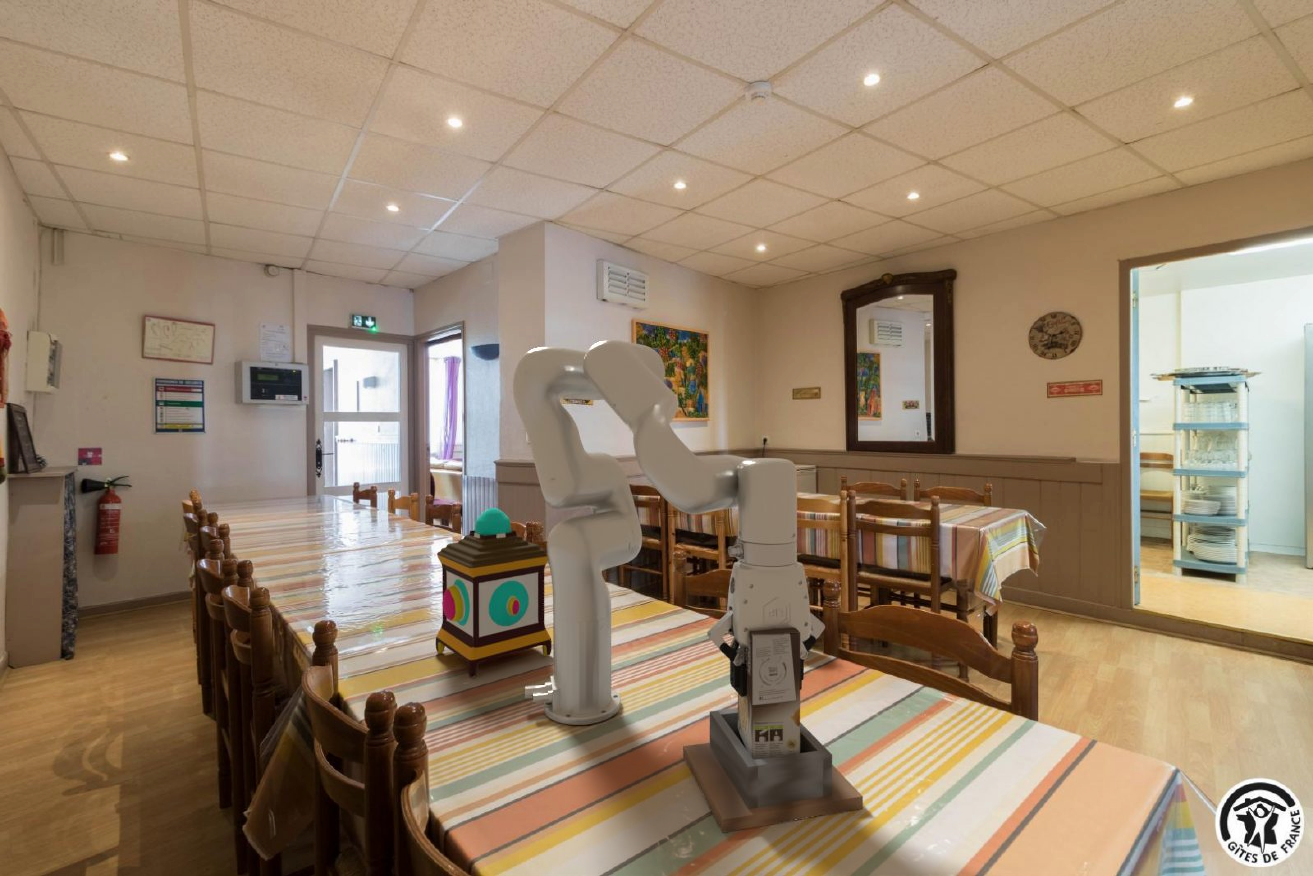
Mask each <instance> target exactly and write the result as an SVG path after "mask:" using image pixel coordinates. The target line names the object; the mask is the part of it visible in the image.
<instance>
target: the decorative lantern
mask: <svg viewBox="0 0 1313 876" xmlns="http://www.w3.org/2000/svg"><path fill="white" fill-rule="evenodd" d="M511 528H512V527H511V521H510V518H509V516H508V515H506V513H504V512H503V511H502V510H501V509H499V508H495V507H490V508H487V509H485V510H484V511H483V512H482V513H481V514H480V515H479V516H478V517H477V518H476V520H475V525H474V530H469V534H467V535H465V536H464V537H463V538H462V539H459V540H458V541H457V542H451V543H448V544H447V545H446V546H445V547H443V548H441V549H440V551H438V552H436V556H437V559H438V561H439V562H440V564H441V569H442V571H441V572H442V575H441V576H442V601H441V603H442V605H441V606H442V623H441V626H440V628H439V630H438V632H437V634H436V636H435V650H436V653H438V654H443V653H444V652H445V648H446V649H448V650H449V651H451V652H452V653H454V654H455V655H456V656H457V657H460V659H462V660H464V661H465V663H466V664H467V671H468V676H469V677H470V678H471V679H474V678H476V676H477V671H478V666H479V665H480V664H481V663H482V662H485V661H489V660H492V659H496V658H500V657H503V656H507V655H510V654H515V653H518V652H522V651H526V650H528V649H533V648H537V647H540V646H541V647H542V654H543V656H544V657H549V656H550V655H551V653H552V649H553V648H552V647H553V644H552V643H553V642H552V638H551V636H550V634H549V632H548V631H547V628H546V625H545V624H546V623H545V568H546V566H547V563H548V562H549V561H548V556H547V550H545V549H544V548H541V547H540V545H539V544H535V543H532V542H529V541H528V540H526V539H523V537H522V536H521V535H518V534H517V531H516V530H512V529H511Z"/></svg>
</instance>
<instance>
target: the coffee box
mask: <svg viewBox="0 0 1313 876" xmlns="http://www.w3.org/2000/svg"><path fill="white" fill-rule="evenodd" d="M743 663H744V664H745V665H746V666H747V695H746V696H745V697H741V696H740V695H739V694H738V693H737V708H738V730H739V733H740V735H741V738H742V740H743V742H744V745H745V747H746V749H747V751H748V753H749V754H750V755H751V757H752V758H753V759H754V760H757V759H764V758H771V757H778V756H785V755H792V754H799V753H800V722H801V690H800V632H799V631H798V630H797V629H796V628H778V629H776V628H775V629H767V630H757V631H750V647H747V654H746V657H745V659H744V661H743Z"/></svg>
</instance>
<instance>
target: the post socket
mask: <svg viewBox="0 0 1313 876" xmlns="http://www.w3.org/2000/svg"><path fill="white" fill-rule="evenodd" d="M682 757H683V759H684V761H685V764H686V765H687V767H688V769H689V770H690V773H691V774H692V776H693V778H694V780H695V783H696V784H697V786H698V787H699V789H700V792H701V794H702V797H704V800H705V801H706V803H707V805H708V807H709V809H710V811H711V813H712V815H713V818H715V821H716V823H717V824H718V827H719V828H720V830H721V833H728V832H735V831H741V830H746V829H752V828H753V829H754V828H757V827H764V826H769V825H775V824H780V823H781V824H782V823H786V821H788V822H791V821H790V820H793V821H796V820H795V819H799V820H803V819H802V818H805V819H807V818H806V817H811V818H813V817H812V816H817V817H819V816H818V815H822V816H827V815H826V814H828V815H832V814H833V813H834V814H839V813H845V812H844V811H846V812H849V810H851V811H857V810H861V809H862V810H863V809H864V808H863V805H864V803H863V802H864V796H863V795H862V793H860V791H858V789H856V788H855V786H853V784H852V783H851V782H849V780H848V779H847V778H846V777H845V776H844V775H843V774H842V772H841V771H840V770H838V769H837V768H836V766H835V765H834V764H833V754H832V753H831V752H830V751H829V750H828V749H827V748H826V747H825V746H824V745H823V744H822V743H821V741H819V740H818V739H817V738H816V737H815V736H814V735H813V733H812V732H811V731H810V730H808V728H807V727H806V726H805V725H804V724H803V723H802V722H801V721H800V753H799V754H792V755H785V756H778V757H771V758H764V759H757V760H754V759H753V758H752V757H751V755H750V754H749V753H748V751H747V749H746V747H745V745H744V742H743V740H742V738H741V735H740V733H739V730H738V707H737V708H736V707H735V708H727V709H726V708H725V709H718V710H712V711H711V710H710V711H709V742H705V743H697V744H688V745H683V746H682ZM837 812H839V813H837ZM834 814H833V815H834Z"/></svg>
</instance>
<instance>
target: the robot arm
mask: <svg viewBox="0 0 1313 876" xmlns="http://www.w3.org/2000/svg"><path fill="white" fill-rule="evenodd" d="M665 377H666V367H665V364H664V361H663V359H662V357H661V355H660V354H659V353H658V352H657V351H656V350H655V349H653V348H652V347H649V346H647V345H644V344H640V343H634V342H630V341H629V342H628V341H622V340H617V339H606V340H602V341H599V342H597V343H594V344H593V345H592V346H590V348H588V349H587V351H585V350H577V349H573V348H571V349H570V348H566V347H559V346H558V347H557V346H541V347H537V348H533V349H531V350H528V351H527V352H526V353H524V354H523V355H522V357H521V358H520V359H519V361H518V363H517V364H516V368H515V370H514V374H513V378H512V379H513V380H512V391H513V392H512V394H513V400H514V403H515V408H516V410H517V412H518V415H519V418H520V420H521V422H522V425H523V427H524V429H525V432H526V435H527V437H528V441H529V445H530V450H531V454H532V459H533V462H534V467H535V470H536V475H537V478H538V483H539V486H540V490H541V493H542V495H543V498H544V501H545V502H546V503H547V505H548V506H549V507H550V508H552V509H553V510H559V511H569V510H571V511H572V510H579V509H584V508H586V509H587V508H590V511H591V513H589V514H588V513H587V514H583V515H576V516H572V517H569V518H565V519H564V520H562V521H560V522H559V523H557V524H556V525H554V526H553V528H552V529H551V531H549V534H548V537H547V539H546V540H547V541H546V553H547V556H548V561H547V562H548V566H549V570H550V576H551V585H552V586H551V587H552V615H553V619H552V620H553V623H552V625H553V627H552V628H553V631H552V632H553V635H552V636H553V642H552V643H553V644H552V647H553V648H552V649H553V673H552V674H553V675H550V677H549V678H550V681H546V682H544V684H541V685H540V684H537V685H536V684H531V685H525V686H524V698H525V699H526V700H527V699H532V703H533V704H539V703H543V711H544V714H545V715H546V716H547V717H548V718H549V719H551V720H553V721H554V722H557V723H560V724H565V725H573V726H584V725H591V724H593V725H594V724H598V723H600V722H603V721H606V720H608V719H610V718H611V717H613V716H615V715H616V714H617V713H618V712H619V711H620V708H621V704H622V700H621V695H620V694H619V693H618V692H617V691H616V690H615V689H613V688H612V597H611V593H610V589H609V587H608V586H607V583H606V581H605V579H604V577H603V573H602V571H605V570H607V569H611V568H615V567H618V566H620V565H624V564H626V563H629V562H631V561H633V560H634V559H635V558H636V557H637V556H638V554H639V553H640V551H641V548H642V543H643V533H642V527H641V522H640V520H639V516H638V512H637V507H636V504H635V501H634V497H633V494H632V491H631V486H630V483H629V480H628V477H627V474H626V471H625V470H624V468H623V466H622V464H621V463H620V462H619V461H618V460H617V459H616V458H615V457H614V456H613V455H611V454H608V453H606V452H599V451H596V452H595V451H592V452H587V451H586V450H585V448H584V445H583V443H582V440H581V437H580V436H581V435H580V431H579V428H578V425H577V423H576V421H575V420H574V418H573V416H572V415H571V414H570V412H569V411H568V410H567V409H566V408H565V406H564V405H563V404H562V403H561V399H568V400H586V401H601V400H602V401H604V402H605V403H607V405H608V406H609V407H610V408H611V410H613V412H614V413H615V414H616V415H617V416H618V418H620V420H621V421H622V422H623V423H624V424H625V425H626V426H627V428H628V429H629V431H630V432H632V433H631V434H632V435H633V437H632V441H633V450H634V453H635V457H636V460H637V464H638V466H639V468H640V470H641V472H642V473H643V475H644V476H645V477H646V478H647V480H648V481H649V482H650V484H651V485H652V486H653V487H654V488H655V489H656V490H657V492H658V493H659V494H660V495H661V497H663V498H664V500H666V502H668V503H669V504H670V505H671V506H672V507H674V508H675V509H677V510H678V511H680V512H682V513H685V514H689V515H702V514H705V513H712V512H714V511H715V512H717V511H721V510H728V509H733V508H737V510H738V511H737V539H736V544H734V545H733V546H732V545H730V546H728V548H727V553H728V555H729V557H731V558H732V557H734V558H736V559H737V561H735V562H734V563H733V566H732V571H731V575H730V579H729V584H728V585H729V587H728V595H727V606H726V607H727V608H726V609H727V610H726V613H725V614H724V615H723V616H722V617H721V618H720V619H719V620H718V621H717V622H716V623H715V624H714V625H713V626H712V627H711V628H710V629H709V630H708V631H707V634H706V636H707V637H708V638H709V639H710V641H712V643H713V644H714V645H715V646H716V648H717V649H719V650H720V651H721V653H722V654H723V655H724V656H725V657H726V658H727V659H728V660H729V681H730V686H731V688H732V689H734V690H735V692H736V693H737V695H738V694H739V695H740V696H741V697H745V696H746V695H747V666H746V665H745V664H744V663H743V661H744V659H745V657H746V654H747V647H750V631H757V630H767V629H775V628H776V629H778V628H796V629H797V630H798V631H799V632H800V691H801V690H803V689H802V688H803V684H802V683H803V680H804V679H805V676H804V675H805V674H804V673H805V670H804V669H805V668H804V666H805V664H804V663H805V661H804V660H805V659H807V658H808V656H809V652H810V650H811V649H812V648H813V647H814V645H815V644H816V643H817V639H818V638H819V637H820V636H821V634H822V633H823V632H824V631H825V629H826V626H825V624H824V623H823V622H822V621H821V620H820V619H819V618H817V617H816V616H815V615H814V614H813V613H812V612H811V609H810V608H811V607H810V598H809V589H808V582H807V577H806V572H805V568H804V565H803V563H802V562H799V561H798V556H797V555H798V541H797V539H798V474H797V473H798V472H797V470H798V469H797V467H796V465H795V463H794V462H793V461H792V460H790V459H785V458H781V457H779V458H777V457H775V458H774V457H757V458H755V457H754V458H749V457H743V456H738V455H733V454H719V455H717V454H716V455H715V454H711V455H698V456H697V455H696V454H694V452H692V451H691V449H690V448H689V447H688V446H686V444H685V443H684V442H683V441H682V440H681V439H680V438H679V437H678V435H677V434H676V432H674V430H673V429H672V426H671V425H670V424H671V422H672V421H673V419H674V418H675V416H676V415H677V412H678V409H679V399H678V396H676V394H675V392H673V390H672V389H671V388H669V387H668V386H667V384H666V383H664V381H665ZM726 633H728V634H729V635H730V636H731V637H733V638H732V640H731V642H730V645H729V643H727V641H726V640H725V639H724V635H725V634H726Z"/></svg>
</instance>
